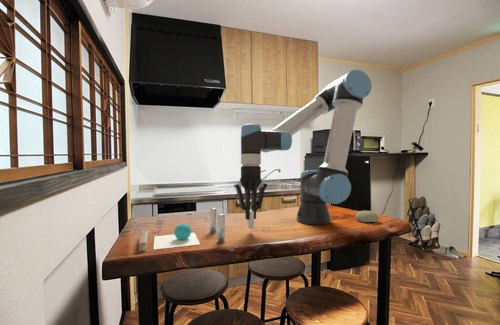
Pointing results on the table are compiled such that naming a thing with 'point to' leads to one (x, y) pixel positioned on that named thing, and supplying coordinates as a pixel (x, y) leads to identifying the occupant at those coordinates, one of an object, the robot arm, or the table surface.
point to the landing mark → (174, 241)
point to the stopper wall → (143, 241)
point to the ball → (182, 231)
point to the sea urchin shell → (366, 216)
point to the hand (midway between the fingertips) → (250, 227)
